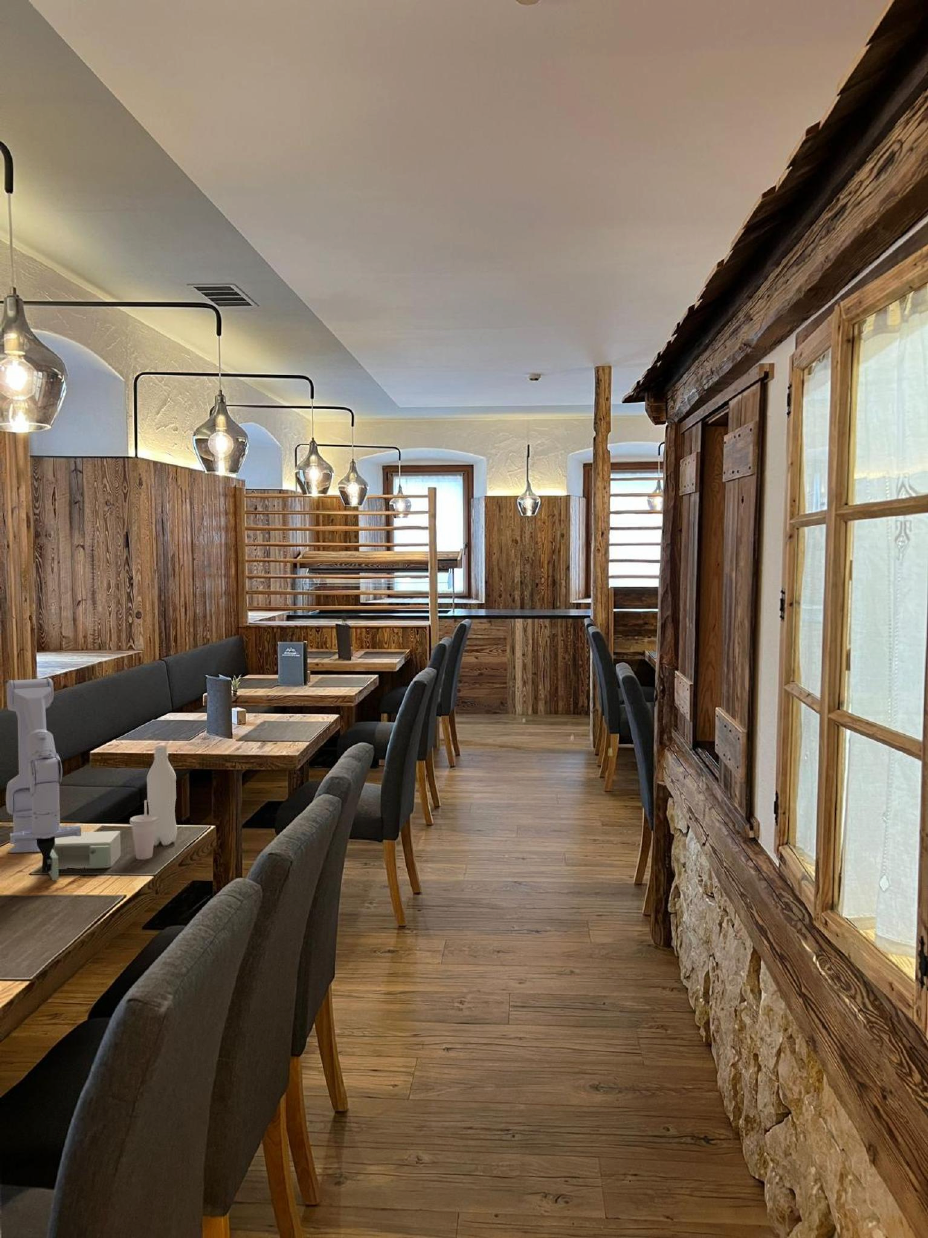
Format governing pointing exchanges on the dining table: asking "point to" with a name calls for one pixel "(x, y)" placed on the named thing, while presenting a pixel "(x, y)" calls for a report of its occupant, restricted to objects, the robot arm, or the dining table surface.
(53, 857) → the door
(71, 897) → the dining table surface
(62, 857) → the cabinet
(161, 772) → the water bottle
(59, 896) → the dining table surface
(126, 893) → the dining table surface
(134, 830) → the smoothie
